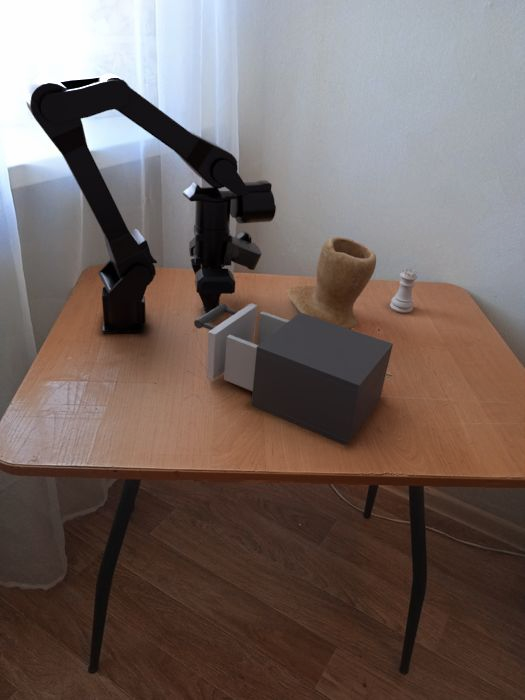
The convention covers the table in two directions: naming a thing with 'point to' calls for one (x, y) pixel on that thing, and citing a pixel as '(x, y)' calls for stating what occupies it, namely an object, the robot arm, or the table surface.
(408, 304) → the rook chess piece
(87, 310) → the table surface
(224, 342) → the drawer
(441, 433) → the table surface
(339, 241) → the stone cup
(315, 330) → the cabinet
